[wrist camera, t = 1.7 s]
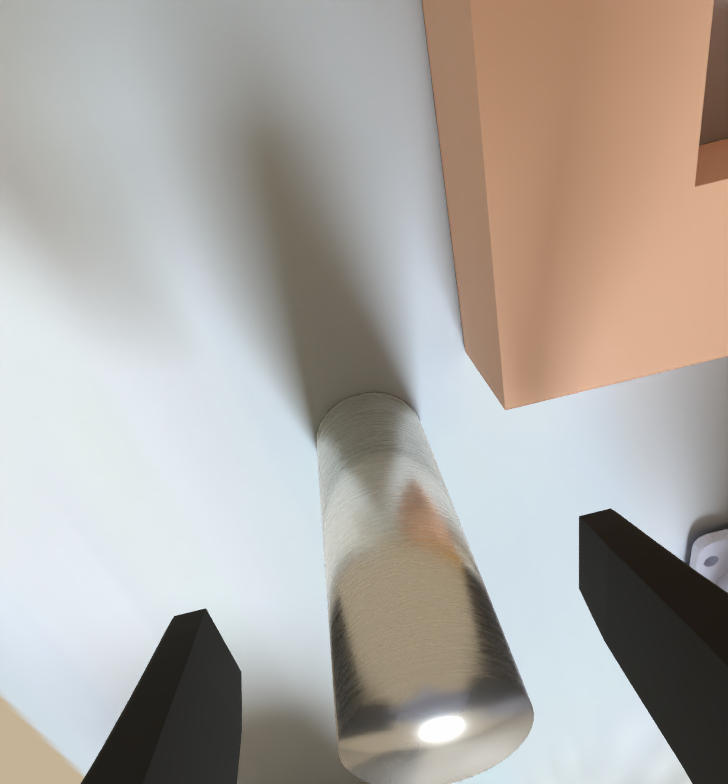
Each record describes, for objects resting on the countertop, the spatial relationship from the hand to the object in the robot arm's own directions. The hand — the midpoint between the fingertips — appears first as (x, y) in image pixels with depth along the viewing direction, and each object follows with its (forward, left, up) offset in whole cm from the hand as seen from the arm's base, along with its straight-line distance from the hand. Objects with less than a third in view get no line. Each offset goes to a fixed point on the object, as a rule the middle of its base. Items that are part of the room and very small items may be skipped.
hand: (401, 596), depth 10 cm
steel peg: (0, 0, -6) cm, 6 cm away
